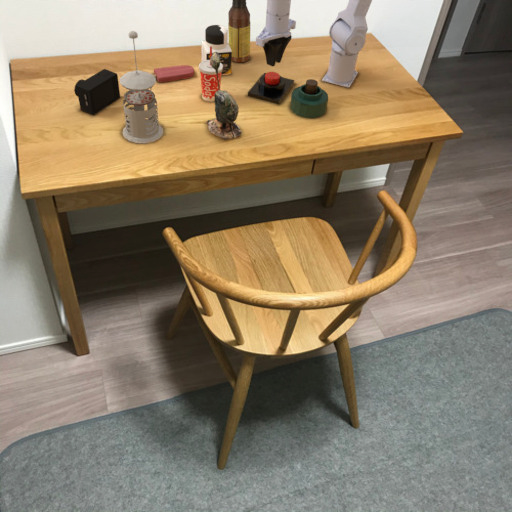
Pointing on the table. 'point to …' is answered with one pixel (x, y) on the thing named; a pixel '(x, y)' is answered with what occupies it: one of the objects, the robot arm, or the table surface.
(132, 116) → the french press
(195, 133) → the table surface
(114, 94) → the digital camera
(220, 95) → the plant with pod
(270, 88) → the button box
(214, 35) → the medicine bottle
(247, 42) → the sauce bottle
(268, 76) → the button
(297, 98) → the green stepped cylinder
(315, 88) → the brown cylinder
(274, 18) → the robot arm
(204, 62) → the beverage cup
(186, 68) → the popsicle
